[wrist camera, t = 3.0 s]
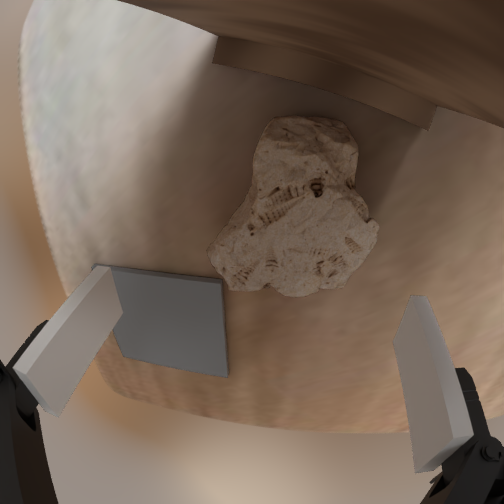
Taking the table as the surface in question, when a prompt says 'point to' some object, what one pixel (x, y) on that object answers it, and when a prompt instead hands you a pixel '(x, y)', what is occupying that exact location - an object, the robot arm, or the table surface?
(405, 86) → the board
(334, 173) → the stone
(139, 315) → the pad
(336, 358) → the table surface
